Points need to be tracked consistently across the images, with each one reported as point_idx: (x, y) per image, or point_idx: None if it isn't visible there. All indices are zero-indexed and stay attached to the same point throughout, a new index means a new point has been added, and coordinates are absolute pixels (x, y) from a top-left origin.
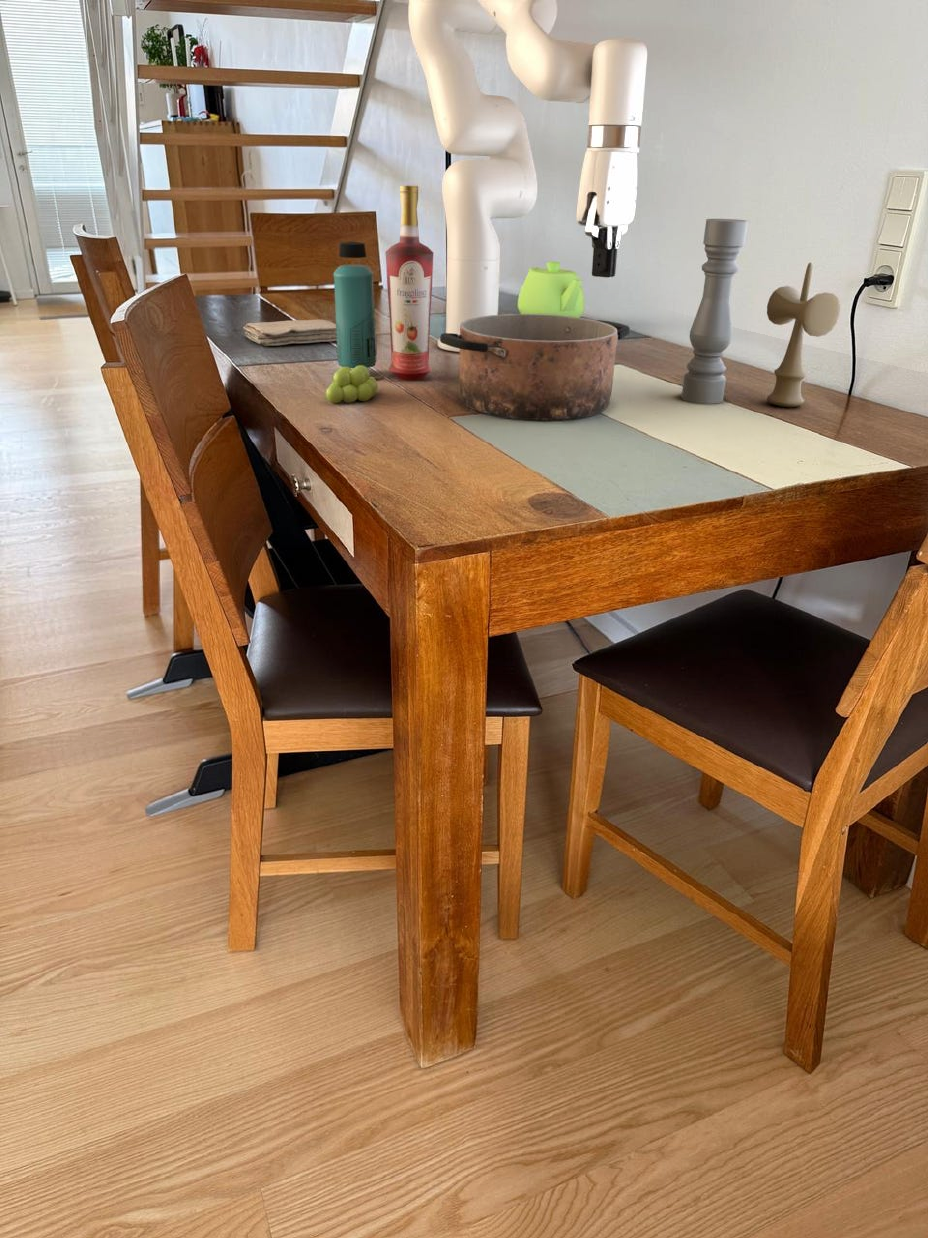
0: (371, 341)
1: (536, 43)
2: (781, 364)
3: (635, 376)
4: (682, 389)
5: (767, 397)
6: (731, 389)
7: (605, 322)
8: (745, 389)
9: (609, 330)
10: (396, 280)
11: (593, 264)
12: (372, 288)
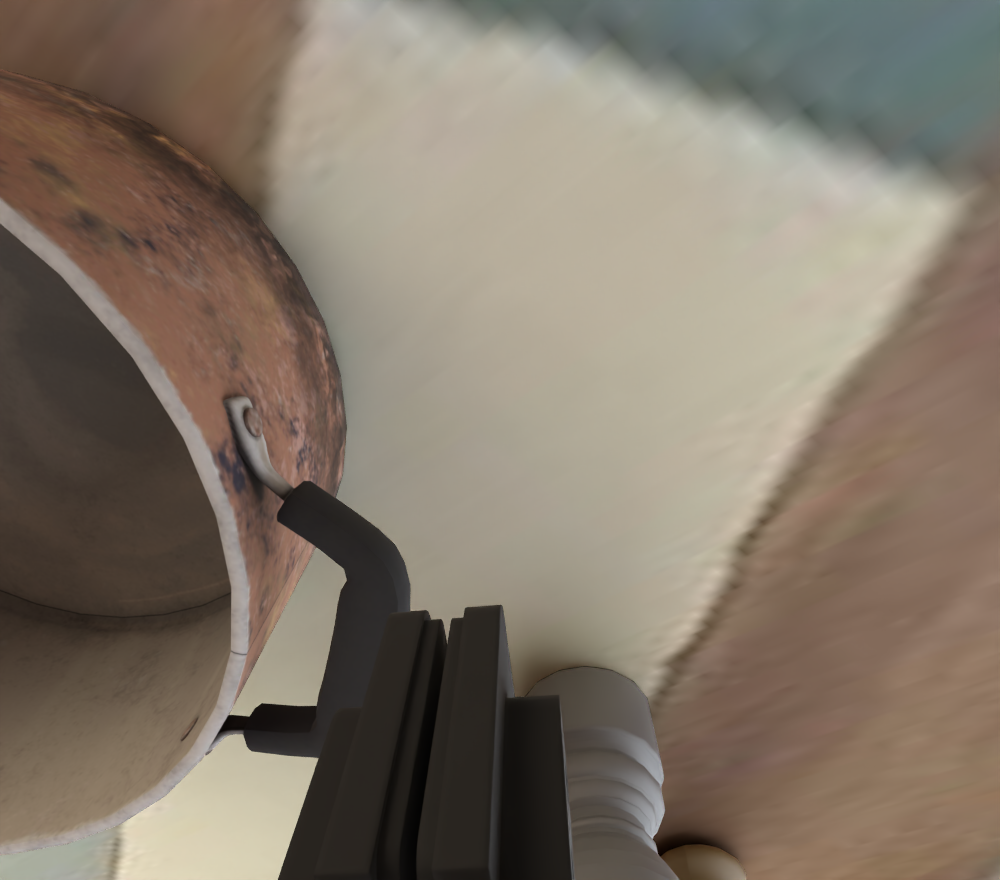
0: None
1: None
2: None
3: (752, 404)
4: (552, 694)
5: (681, 851)
6: (786, 718)
7: (347, 619)
8: (818, 743)
9: (203, 726)
10: None
11: (369, 698)
12: None
